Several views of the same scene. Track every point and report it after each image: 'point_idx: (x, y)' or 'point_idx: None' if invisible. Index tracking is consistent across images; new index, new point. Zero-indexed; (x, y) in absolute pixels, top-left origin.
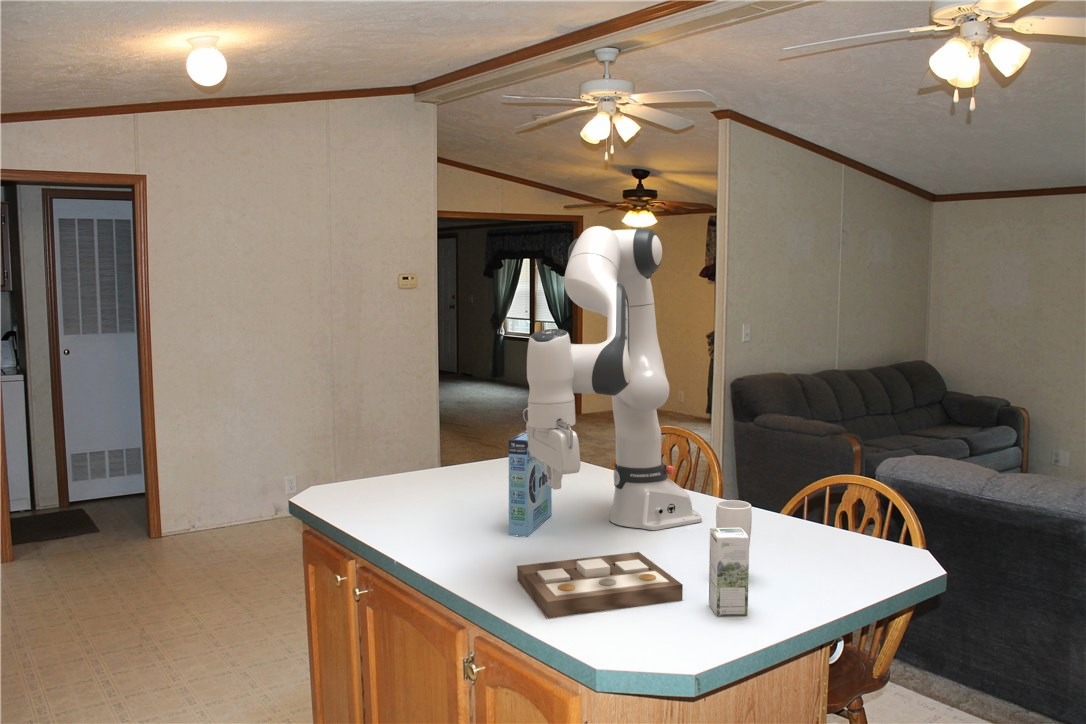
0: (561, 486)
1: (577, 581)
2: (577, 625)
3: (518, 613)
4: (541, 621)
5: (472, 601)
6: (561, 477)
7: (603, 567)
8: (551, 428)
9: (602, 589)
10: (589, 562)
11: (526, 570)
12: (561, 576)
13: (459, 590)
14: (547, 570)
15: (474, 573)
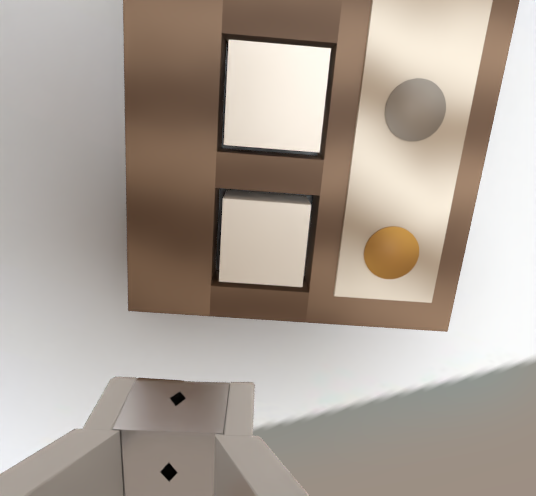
0: (253, 386)
1: (356, 199)
2: (505, 262)
3: (366, 360)
4: None
5: None
6: (276, 462)
7: (327, 77)
8: None
9: (458, 154)
10: (257, 105)
11: (183, 300)
12: (297, 230)
13: None
14: (224, 250)
15: (46, 376)
